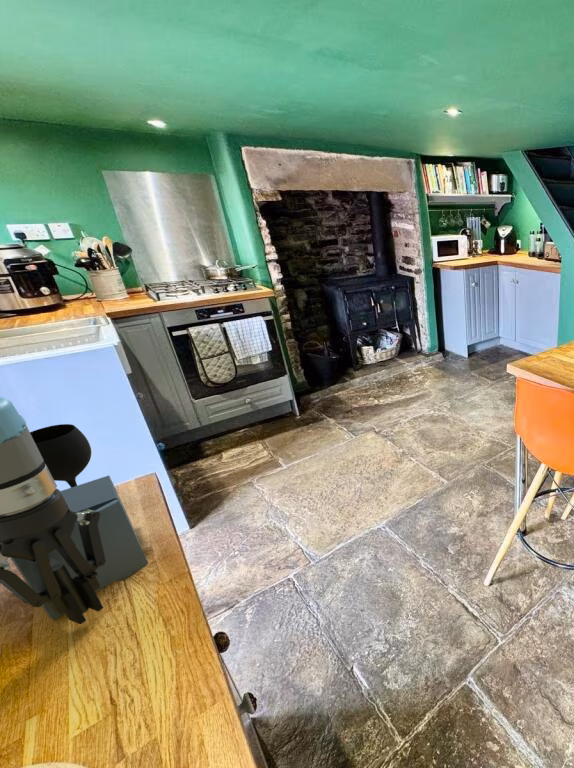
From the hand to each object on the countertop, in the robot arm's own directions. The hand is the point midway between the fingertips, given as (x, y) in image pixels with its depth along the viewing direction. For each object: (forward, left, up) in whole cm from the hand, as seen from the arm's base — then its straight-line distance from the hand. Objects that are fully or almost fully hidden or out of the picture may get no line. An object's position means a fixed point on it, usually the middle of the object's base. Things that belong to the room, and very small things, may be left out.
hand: (86, 613), depth 67 cm
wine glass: (-30, +29, -4) cm, 42 cm away
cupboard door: (-2, +6, -3) cm, 7 cm away
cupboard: (-11, +12, -3) cm, 17 cm away
